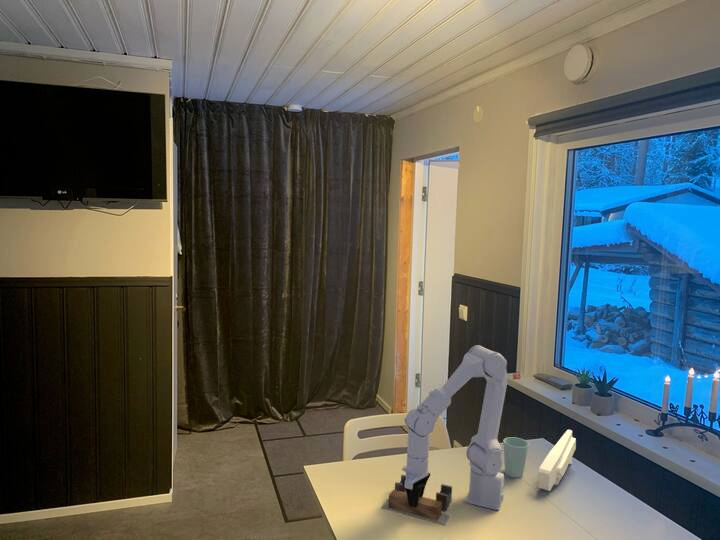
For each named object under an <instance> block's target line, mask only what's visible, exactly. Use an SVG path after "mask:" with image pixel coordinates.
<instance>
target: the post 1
mask: <svg viewBox="0 0 720 540" xmlns="http://www.w3.org/2000/svg"><path fill="white" fill-rule="evenodd" d="M404 478H406V474H401V475H400V481H399V482H398V481H397V482H396V481H395V483H394V490H397V491H401V492H405V493H406V490H405V488H404V486H403V484H402V481H403V480H404Z"/></svg>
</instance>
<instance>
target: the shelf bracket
mask: <svg viewBox="0 0 720 540" xmlns="http://www.w3.org/2000/svg"><path fill="white" fill-rule="evenodd" d="M576 448H577V439H576V438H575V437H573V430H571V429H567V430H566V431H565V432H564V433H563V435H562V436H561V437H560V439H559V440H558V441H557V443H556V444H555V445H554V446H553V447H552V449H550V451H549V452H548V454H547V455H546V457H545V458H544V460H543V461H542V463H541V465H540V467H539V468H538V470H537V478H538V479H537V481H538V482H537V484H538V485H537V486H538V489H542V490H545V491H549V492H551V490H552V488H553V487H554V486H555V485H557V486H558V485H559V484H560V482H561V480H562V478H563V477H564V475H565V473H566V470H567V468H568V467H569V465H572V464H573V455H574V453H575V451H576Z"/></svg>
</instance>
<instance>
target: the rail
mask: <svg viewBox="0 0 720 540" xmlns="http://www.w3.org/2000/svg"><path fill="white" fill-rule="evenodd" d="M388 499H389V505H388V507H389V508H392V509H396V510H400V511H404V512H407V513H411V514H415V515H418V516H422V517H426V518H430V519H433V520H437V521H438V520H439V518H440V516H441V514H442V513H443V511H442V502H441V501H437V500H436V499H432V498H427V497H424V496H423V497H421V496H419V502H418V505H417V507H416V508H415V507H412V506H409V503H408V498H407V493H405V492H401V491H397V490H395V489H392V491H391V492H390V493H389V495H388Z"/></svg>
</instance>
